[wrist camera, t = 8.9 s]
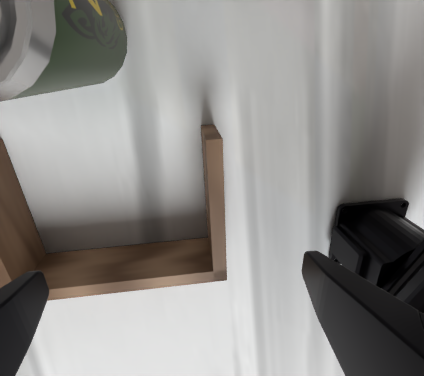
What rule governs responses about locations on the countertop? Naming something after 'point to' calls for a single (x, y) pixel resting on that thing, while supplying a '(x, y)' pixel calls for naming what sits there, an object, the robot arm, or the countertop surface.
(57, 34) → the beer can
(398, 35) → the countertop surface
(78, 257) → the wooden u-shaped frame
